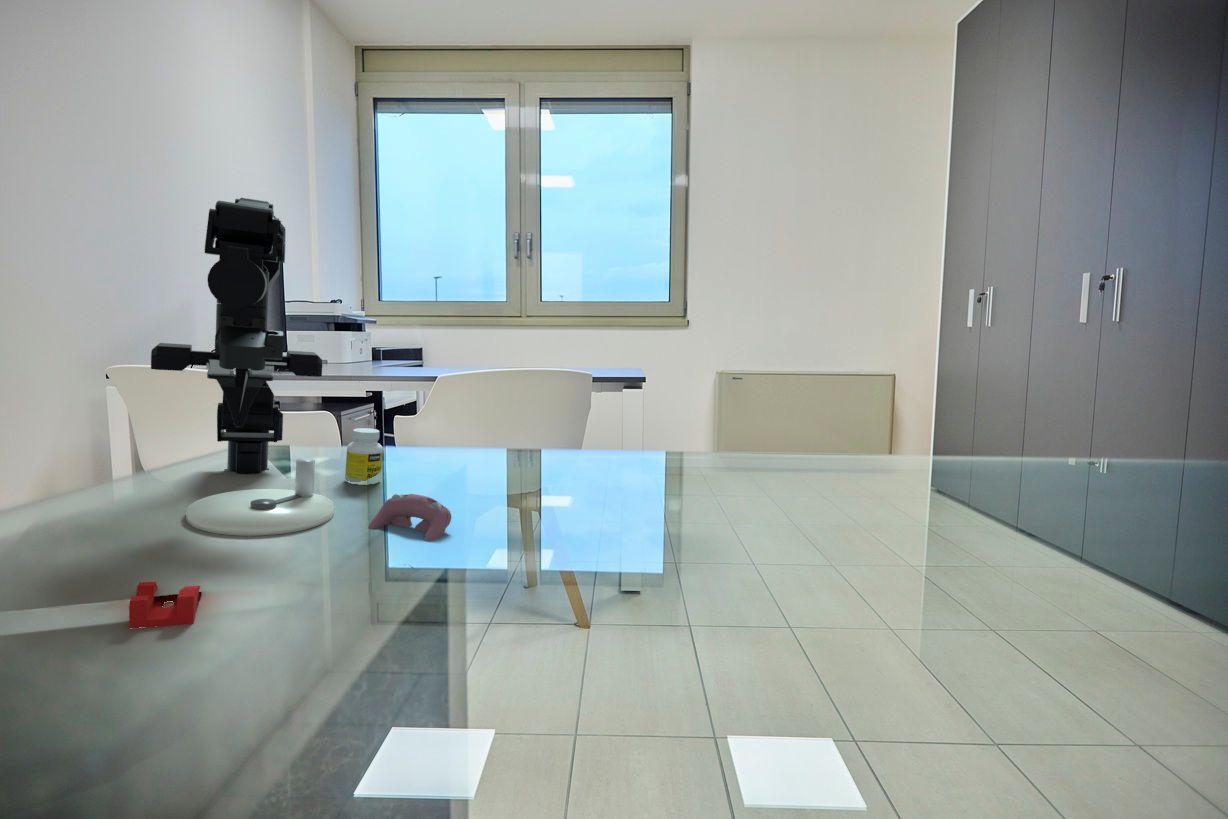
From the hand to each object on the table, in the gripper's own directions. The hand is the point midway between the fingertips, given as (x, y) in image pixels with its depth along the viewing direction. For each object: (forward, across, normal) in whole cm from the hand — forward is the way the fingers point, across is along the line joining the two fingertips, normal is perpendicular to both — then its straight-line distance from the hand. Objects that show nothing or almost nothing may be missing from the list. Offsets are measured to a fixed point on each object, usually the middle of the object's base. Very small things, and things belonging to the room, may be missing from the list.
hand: (238, 426), depth 87 cm
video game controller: (+13, +20, -12) cm, 27 cm away
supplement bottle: (+13, +18, +12) cm, 25 cm away
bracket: (+13, -6, -27) cm, 30 cm away
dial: (+11, +3, -3) cm, 12 cm away
